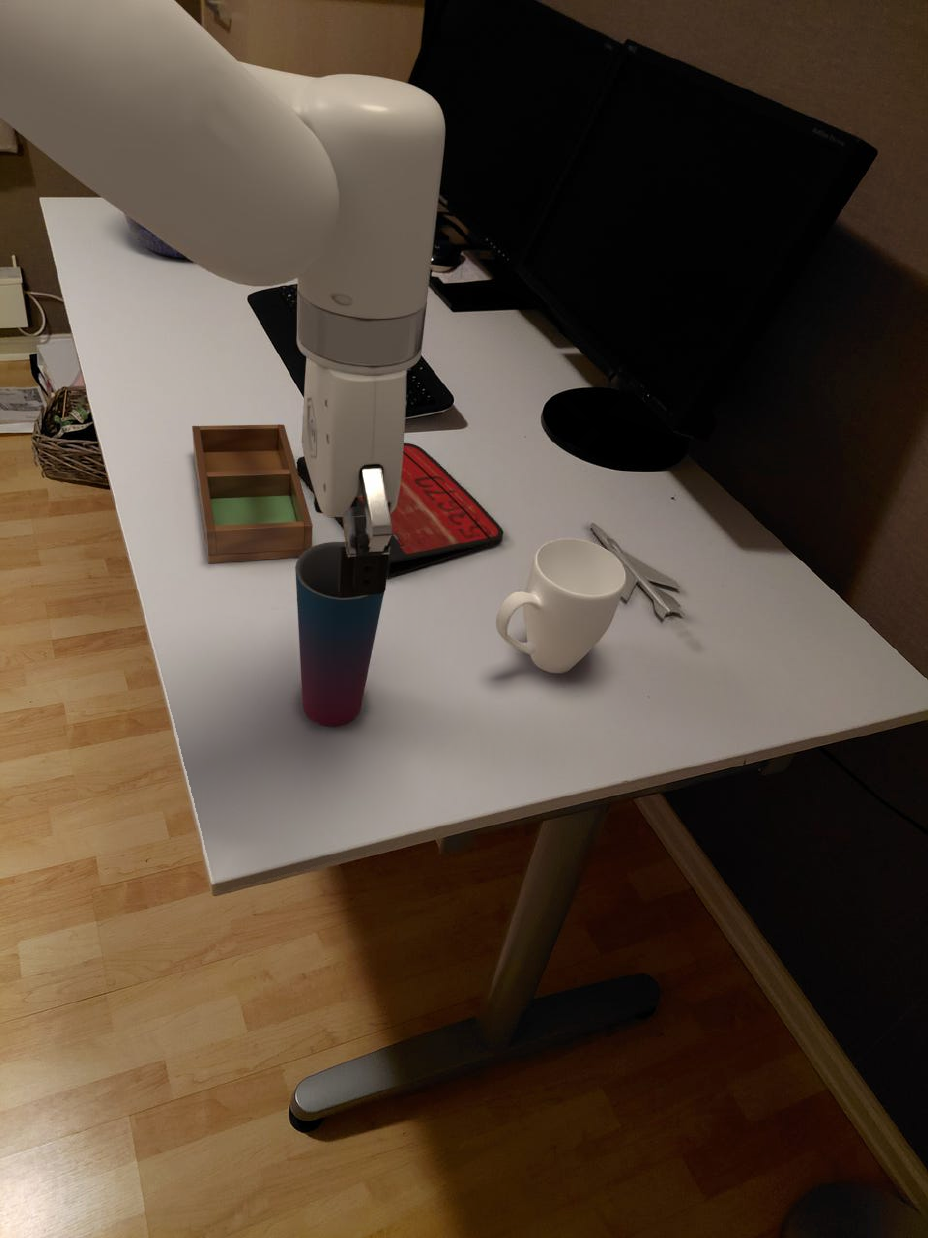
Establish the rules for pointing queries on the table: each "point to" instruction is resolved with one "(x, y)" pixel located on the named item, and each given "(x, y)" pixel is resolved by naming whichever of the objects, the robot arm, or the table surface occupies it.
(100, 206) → the table surface
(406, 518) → the binder
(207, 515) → the wooden compartment tray
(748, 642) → the table surface
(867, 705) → the table surface
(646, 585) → the toy airplane
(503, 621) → the mug
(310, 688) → the cup
